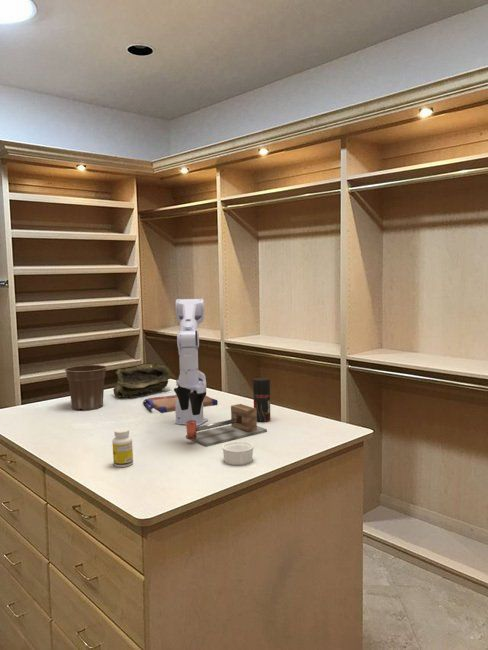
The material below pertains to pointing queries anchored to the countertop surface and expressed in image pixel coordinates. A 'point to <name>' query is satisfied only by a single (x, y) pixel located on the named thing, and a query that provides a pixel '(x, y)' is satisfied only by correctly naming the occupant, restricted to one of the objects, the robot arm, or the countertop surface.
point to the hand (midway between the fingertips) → (190, 412)
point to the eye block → (232, 427)
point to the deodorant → (262, 398)
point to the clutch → (172, 403)
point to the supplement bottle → (122, 448)
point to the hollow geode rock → (141, 379)
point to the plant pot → (86, 386)
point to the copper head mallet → (203, 427)
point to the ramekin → (238, 452)
